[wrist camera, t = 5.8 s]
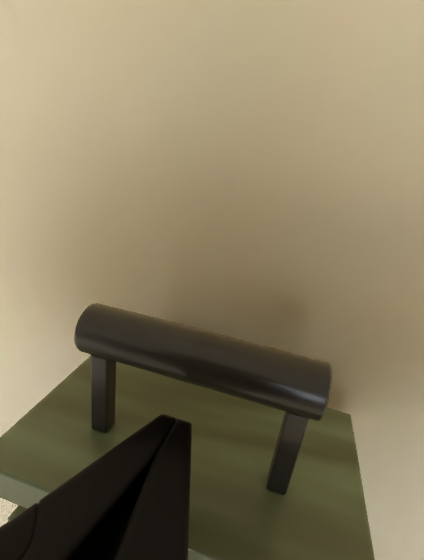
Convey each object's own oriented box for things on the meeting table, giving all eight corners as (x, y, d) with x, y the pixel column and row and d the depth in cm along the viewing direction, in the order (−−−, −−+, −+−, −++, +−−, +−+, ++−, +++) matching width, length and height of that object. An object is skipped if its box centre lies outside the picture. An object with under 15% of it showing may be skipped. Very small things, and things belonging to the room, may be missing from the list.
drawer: (103, 253, 14) (-56, 326, 8) (387, 316, 12) (475, 489, 6) (102, 513, 20) (13, 666, 14) (286, 587, 18) (275, 808, 12)
